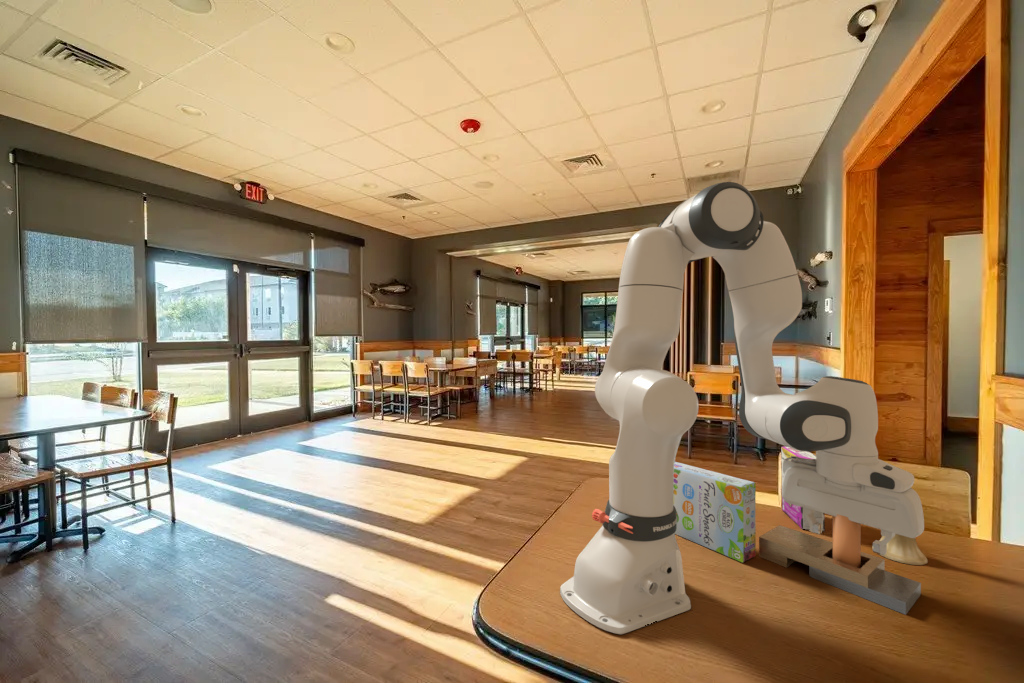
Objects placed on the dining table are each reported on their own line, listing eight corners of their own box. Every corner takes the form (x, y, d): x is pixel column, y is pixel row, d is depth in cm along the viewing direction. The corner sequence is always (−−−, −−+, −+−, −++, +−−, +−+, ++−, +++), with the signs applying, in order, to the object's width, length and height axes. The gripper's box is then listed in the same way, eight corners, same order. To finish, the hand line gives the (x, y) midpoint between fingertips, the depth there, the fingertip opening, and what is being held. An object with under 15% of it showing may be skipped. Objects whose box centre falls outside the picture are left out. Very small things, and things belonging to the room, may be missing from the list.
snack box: (757, 556, 85) (757, 481, 85) (743, 564, 82) (742, 487, 82) (666, 519, 103) (666, 457, 103) (651, 525, 99) (651, 461, 99)
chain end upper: (867, 599, 71) (867, 576, 71) (759, 556, 85) (759, 536, 85) (884, 581, 76) (884, 559, 76) (779, 543, 90) (779, 525, 90)
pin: (856, 588, 74) (856, 519, 74) (829, 577, 77) (828, 512, 77) (864, 580, 76) (863, 514, 76) (837, 570, 79) (837, 507, 79)
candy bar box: (780, 510, 107) (779, 445, 107) (802, 511, 106) (802, 446, 106) (801, 530, 96) (800, 458, 96) (825, 532, 95) (825, 459, 95)
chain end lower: (905, 614, 67) (905, 602, 67) (809, 576, 78) (809, 565, 78) (920, 594, 72) (920, 582, 72) (828, 561, 83) (828, 551, 83)
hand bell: (928, 554, 85) (928, 475, 85) (927, 570, 79) (926, 485, 79) (874, 540, 91) (874, 466, 91) (869, 554, 85) (869, 475, 85)
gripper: (775, 456, 83) (775, 526, 83) (916, 485, 66) (916, 573, 67) (789, 451, 87) (790, 518, 87) (926, 477, 70) (927, 560, 70)
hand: (846, 542), depth 77 cm, fingers open, 8 cm apart
